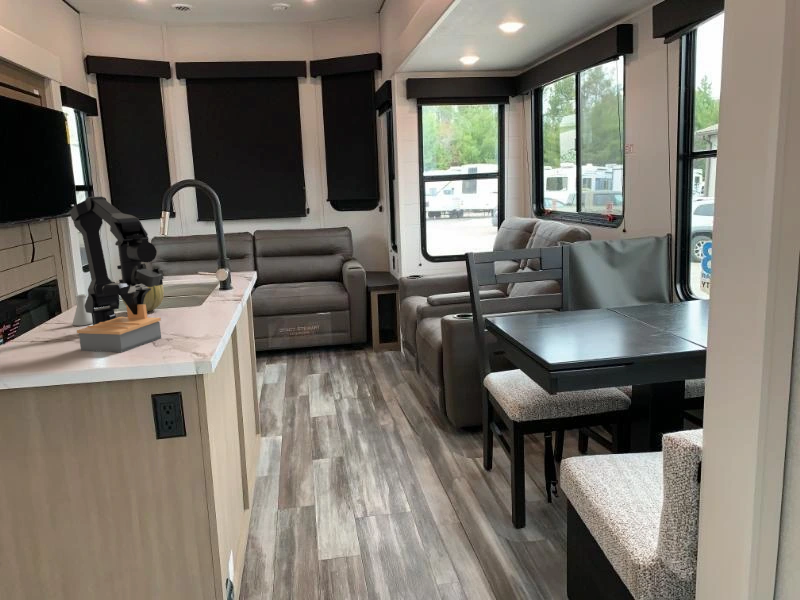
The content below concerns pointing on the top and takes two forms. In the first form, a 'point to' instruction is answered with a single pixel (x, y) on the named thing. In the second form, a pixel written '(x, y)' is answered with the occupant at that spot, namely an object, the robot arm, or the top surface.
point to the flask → (81, 312)
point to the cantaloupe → (153, 297)
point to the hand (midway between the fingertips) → (137, 313)
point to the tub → (120, 339)
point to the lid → (122, 323)
